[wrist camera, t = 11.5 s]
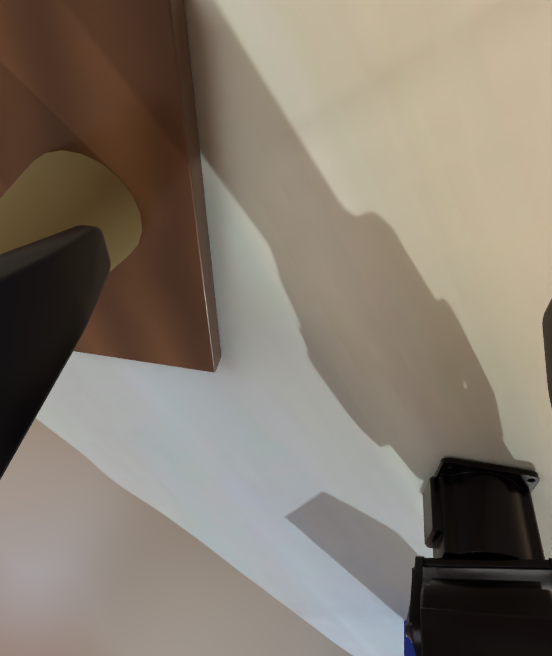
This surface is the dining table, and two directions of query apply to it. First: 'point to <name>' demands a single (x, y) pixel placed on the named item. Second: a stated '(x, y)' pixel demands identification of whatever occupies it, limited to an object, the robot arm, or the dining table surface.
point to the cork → (69, 204)
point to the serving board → (120, 157)
